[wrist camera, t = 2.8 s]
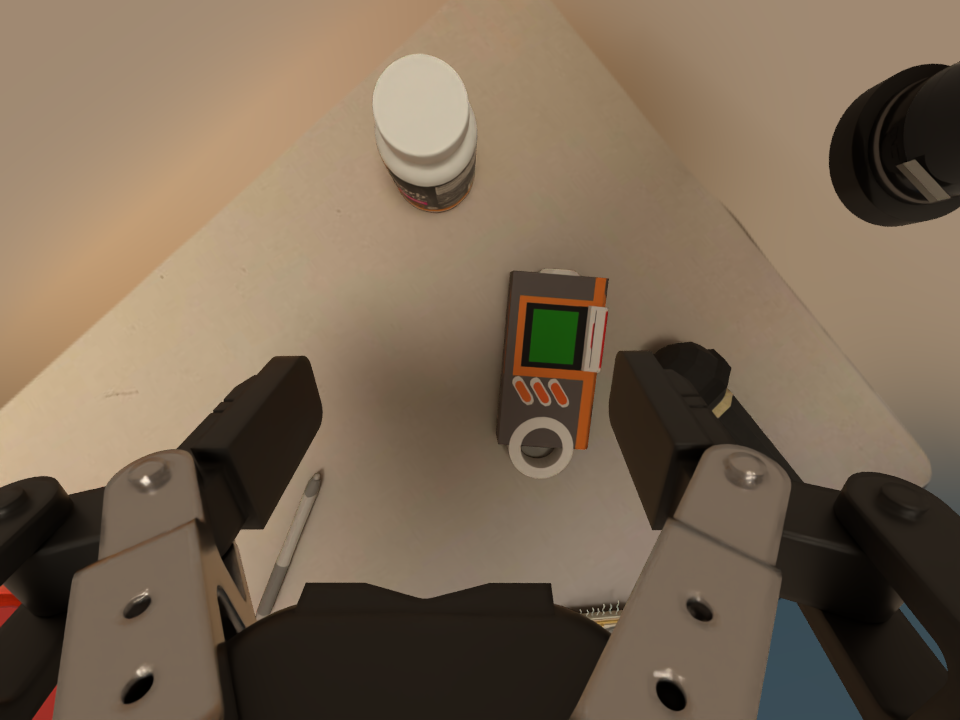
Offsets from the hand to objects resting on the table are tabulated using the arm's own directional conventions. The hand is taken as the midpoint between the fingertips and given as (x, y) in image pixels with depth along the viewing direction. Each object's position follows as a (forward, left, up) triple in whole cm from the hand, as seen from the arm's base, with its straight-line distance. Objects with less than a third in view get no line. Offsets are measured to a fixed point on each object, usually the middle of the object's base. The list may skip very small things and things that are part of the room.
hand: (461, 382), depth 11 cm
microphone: (-17, +14, -20) cm, 30 cm away
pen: (+18, +12, -20) cm, 30 cm away
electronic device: (-5, +4, -20) cm, 21 cm away
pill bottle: (-1, -12, -20) cm, 24 cm away
